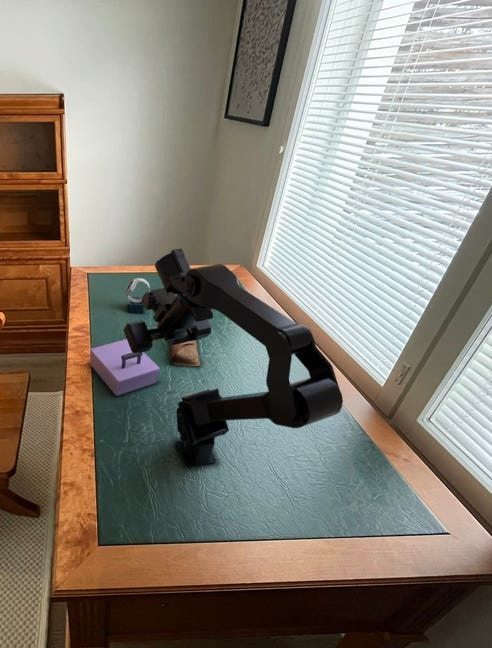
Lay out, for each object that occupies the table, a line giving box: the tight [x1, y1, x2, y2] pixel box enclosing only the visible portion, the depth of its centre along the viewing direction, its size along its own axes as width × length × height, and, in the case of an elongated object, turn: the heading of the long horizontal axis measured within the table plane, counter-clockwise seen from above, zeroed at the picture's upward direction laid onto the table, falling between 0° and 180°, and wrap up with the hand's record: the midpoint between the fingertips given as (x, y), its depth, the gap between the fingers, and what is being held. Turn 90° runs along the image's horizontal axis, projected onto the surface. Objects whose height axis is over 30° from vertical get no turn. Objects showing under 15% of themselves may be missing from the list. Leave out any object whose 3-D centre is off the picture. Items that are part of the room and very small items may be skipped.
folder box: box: [89, 351, 159, 397], centre depth 101 cm, size 15×12×4 cm
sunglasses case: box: [169, 340, 201, 367], centre depth 112 cm, size 18×7×7 cm, turn 173°
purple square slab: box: [89, 338, 161, 384], centre depth 98 cm, size 15×12×5 cm
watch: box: [125, 277, 151, 314], centre depth 128 cm, size 6×8×11 cm
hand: (154, 347), depth 88 cm, fingers open, 9 cm apart
